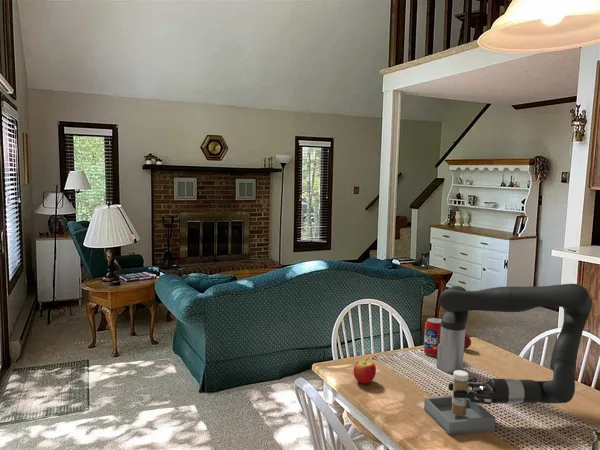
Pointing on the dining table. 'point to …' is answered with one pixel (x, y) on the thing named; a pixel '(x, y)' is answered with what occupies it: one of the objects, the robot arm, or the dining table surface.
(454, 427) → the bin
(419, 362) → the dining table surface
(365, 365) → the apple
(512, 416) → the dining table surface
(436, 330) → the soda can
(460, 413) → the sprinkles bottle
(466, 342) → the onion
